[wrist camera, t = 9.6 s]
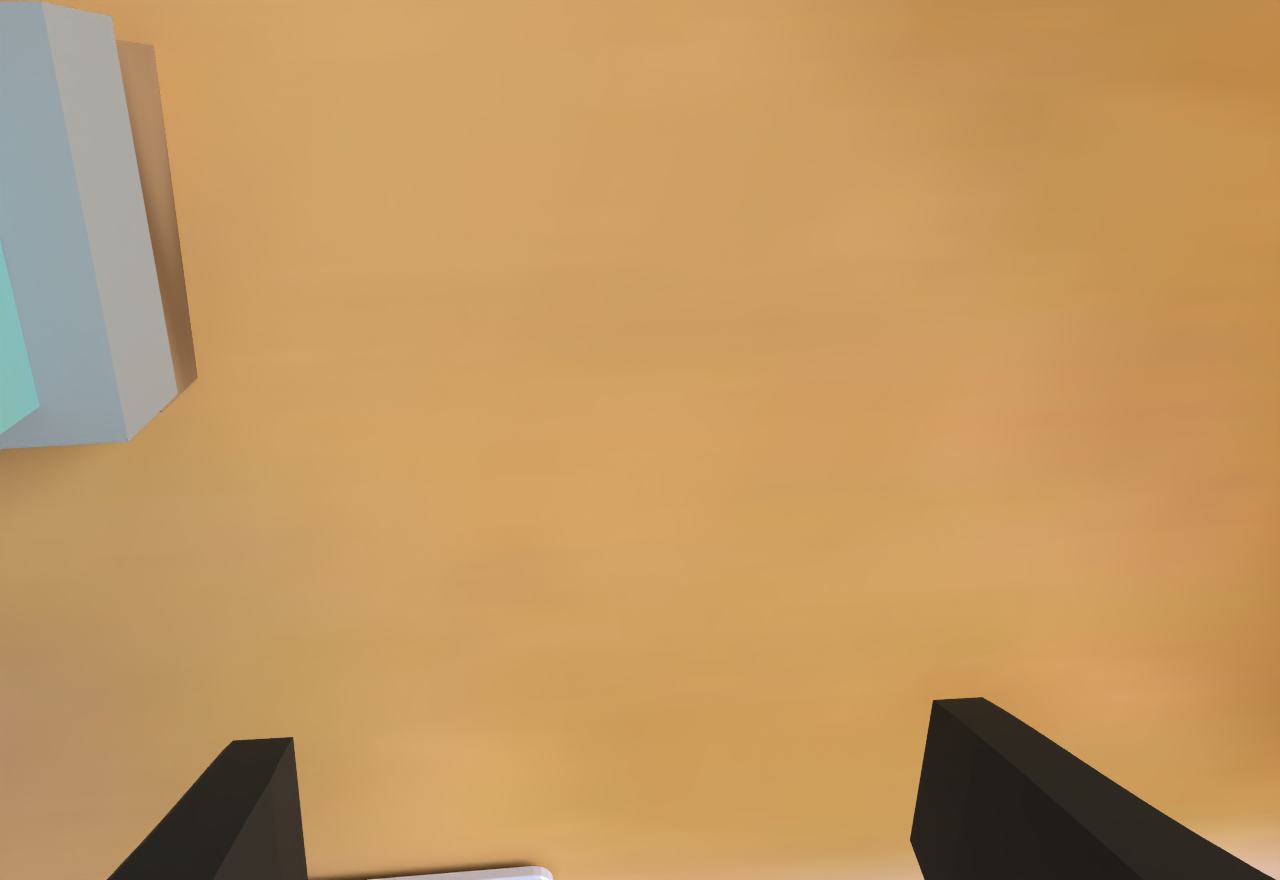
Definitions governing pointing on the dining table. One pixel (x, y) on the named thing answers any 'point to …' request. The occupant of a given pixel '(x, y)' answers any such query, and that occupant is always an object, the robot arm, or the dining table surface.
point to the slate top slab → (77, 232)
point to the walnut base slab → (158, 201)
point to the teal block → (13, 359)
